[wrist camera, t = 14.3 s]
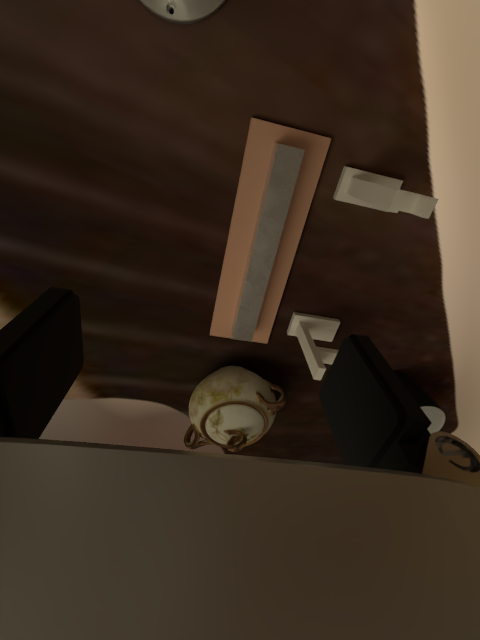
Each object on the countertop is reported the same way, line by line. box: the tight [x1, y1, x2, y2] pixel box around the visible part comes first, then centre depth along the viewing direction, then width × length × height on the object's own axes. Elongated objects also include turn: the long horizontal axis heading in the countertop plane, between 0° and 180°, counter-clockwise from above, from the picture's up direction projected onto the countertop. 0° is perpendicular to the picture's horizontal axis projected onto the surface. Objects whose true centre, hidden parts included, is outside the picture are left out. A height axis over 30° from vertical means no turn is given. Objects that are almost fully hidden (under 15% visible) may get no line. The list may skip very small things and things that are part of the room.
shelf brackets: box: [287, 166, 438, 380], centre depth 40 cm, size 26×8×13 cm, turn 168°
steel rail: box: [231, 143, 305, 342], centre depth 42 cm, size 27×3×3 cm, turn 168°
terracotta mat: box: [210, 118, 331, 344], centre depth 44 cm, size 31×10×1 cm, turn 168°
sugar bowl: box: [184, 366, 287, 452], centre depth 50 cm, size 20×15×15 cm
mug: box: [395, 372, 445, 434], centre depth 55 cm, size 12×9×10 cm
